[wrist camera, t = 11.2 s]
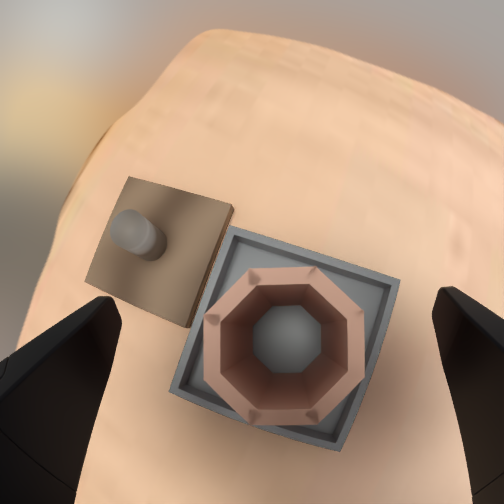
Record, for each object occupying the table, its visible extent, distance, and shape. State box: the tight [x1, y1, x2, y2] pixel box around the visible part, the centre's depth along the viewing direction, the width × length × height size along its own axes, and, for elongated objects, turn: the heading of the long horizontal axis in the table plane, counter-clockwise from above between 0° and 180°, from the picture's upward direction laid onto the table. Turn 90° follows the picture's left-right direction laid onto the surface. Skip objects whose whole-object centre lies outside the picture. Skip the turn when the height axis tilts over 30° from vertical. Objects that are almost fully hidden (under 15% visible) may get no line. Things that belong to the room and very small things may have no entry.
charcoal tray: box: [169, 225, 400, 452], centre depth 20 cm, size 11×11×2 cm
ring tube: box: [203, 266, 365, 426], centre depth 15 cm, size 7×6×10 cm
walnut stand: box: [85, 177, 234, 328], centre depth 21 cm, size 9×9×5 cm
